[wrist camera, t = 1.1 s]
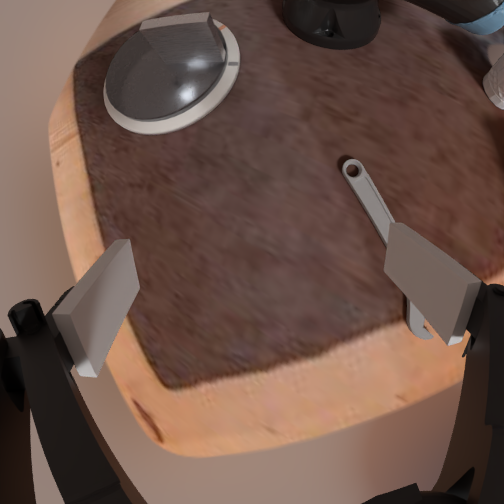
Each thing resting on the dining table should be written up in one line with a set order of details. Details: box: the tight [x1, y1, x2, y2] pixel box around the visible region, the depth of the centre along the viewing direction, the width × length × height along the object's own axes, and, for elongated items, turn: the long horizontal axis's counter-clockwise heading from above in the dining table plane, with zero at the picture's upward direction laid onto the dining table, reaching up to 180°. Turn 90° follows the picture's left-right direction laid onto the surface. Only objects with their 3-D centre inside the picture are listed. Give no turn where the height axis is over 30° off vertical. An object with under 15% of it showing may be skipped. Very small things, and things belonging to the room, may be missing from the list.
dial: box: [106, 12, 228, 122], centre depth 32 cm, size 19×19×10 cm
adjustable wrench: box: [342, 159, 434, 340], centre depth 35 cm, size 25×6×2 cm, turn 26°
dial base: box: [104, 20, 240, 135], centre depth 38 cm, size 22×22×1 cm
